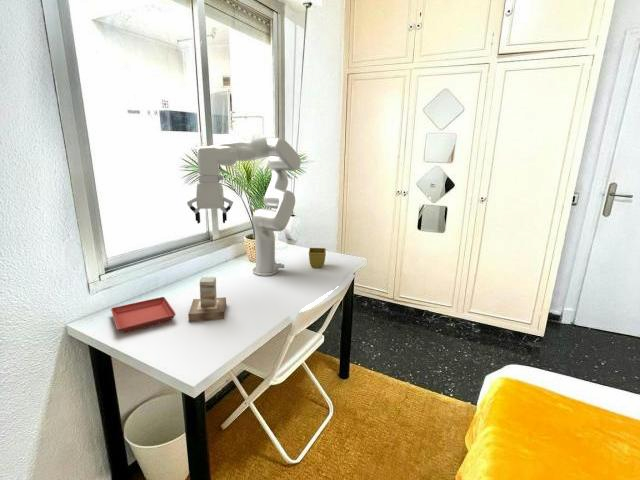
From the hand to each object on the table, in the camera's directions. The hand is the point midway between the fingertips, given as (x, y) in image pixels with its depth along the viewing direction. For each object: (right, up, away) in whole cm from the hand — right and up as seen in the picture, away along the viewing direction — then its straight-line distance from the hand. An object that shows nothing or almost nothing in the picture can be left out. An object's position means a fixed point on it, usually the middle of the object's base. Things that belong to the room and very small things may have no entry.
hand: (211, 222), depth 134 cm
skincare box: (+2, -31, -10) cm, 33 cm away
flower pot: (+42, -21, +43) cm, 63 cm away
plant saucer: (-20, -35, -14) cm, 43 cm away
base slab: (+2, -34, -9) cm, 35 cm away
